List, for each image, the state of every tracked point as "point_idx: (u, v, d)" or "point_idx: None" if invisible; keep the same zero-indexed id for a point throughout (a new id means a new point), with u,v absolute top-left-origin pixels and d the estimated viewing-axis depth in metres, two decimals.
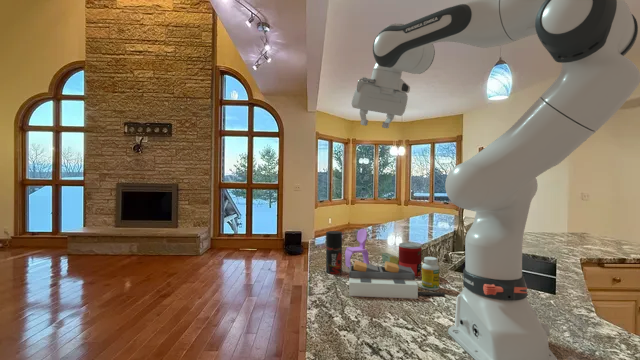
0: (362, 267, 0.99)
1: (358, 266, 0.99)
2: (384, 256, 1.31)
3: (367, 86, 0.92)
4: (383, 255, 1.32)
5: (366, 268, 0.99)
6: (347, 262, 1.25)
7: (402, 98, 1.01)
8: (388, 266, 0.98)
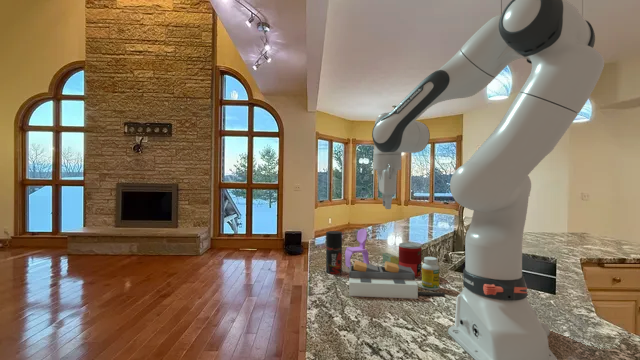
0: (362, 267, 0.99)
1: (358, 266, 0.99)
2: (385, 256, 1.31)
3: None
4: (383, 255, 1.32)
5: (366, 268, 0.99)
6: (347, 262, 1.25)
7: None
8: (388, 266, 0.98)
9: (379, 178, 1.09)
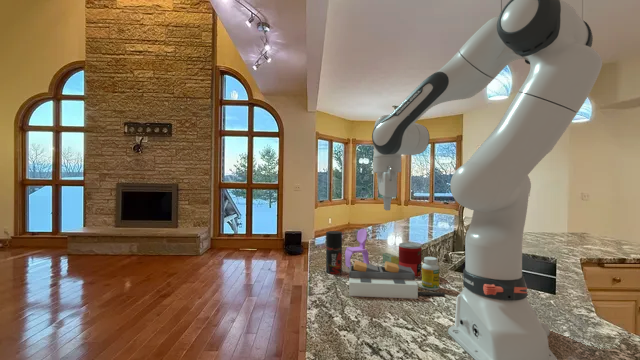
0: (362, 267, 0.99)
1: (358, 266, 0.99)
2: (385, 256, 1.31)
3: (396, 174, 0.92)
4: (384, 255, 1.32)
5: (366, 268, 0.99)
6: (347, 262, 1.25)
7: None
8: (388, 266, 0.98)
9: (379, 181, 1.09)
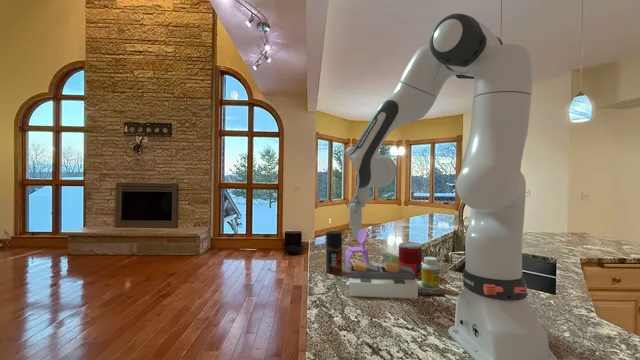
0: (362, 267, 0.99)
1: (358, 266, 0.99)
2: (385, 256, 1.31)
3: (361, 206, 0.94)
4: (384, 255, 1.32)
5: (366, 268, 0.99)
6: (347, 262, 1.25)
7: None
8: (388, 266, 0.98)
9: (349, 207, 1.10)
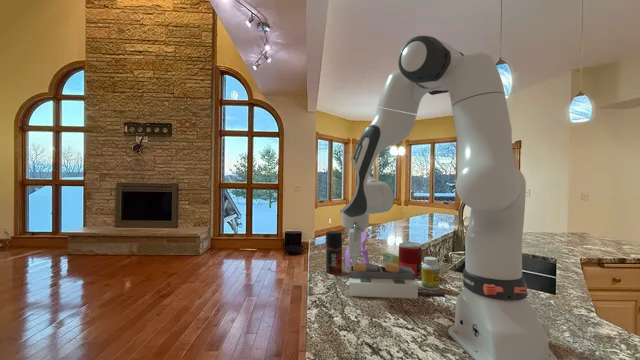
0: (361, 268, 0.99)
1: (357, 267, 0.99)
2: (386, 256, 1.31)
3: None
4: (384, 255, 1.32)
5: (365, 268, 0.99)
6: (347, 262, 1.25)
7: None
8: (388, 266, 0.98)
9: None
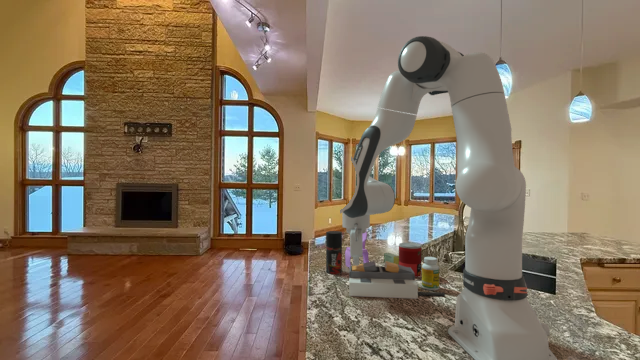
0: (360, 269, 0.99)
1: (356, 270, 0.99)
2: (387, 256, 1.31)
3: None
4: (385, 255, 1.32)
5: (363, 268, 0.99)
6: (347, 262, 1.25)
7: None
8: (388, 266, 0.98)
9: None
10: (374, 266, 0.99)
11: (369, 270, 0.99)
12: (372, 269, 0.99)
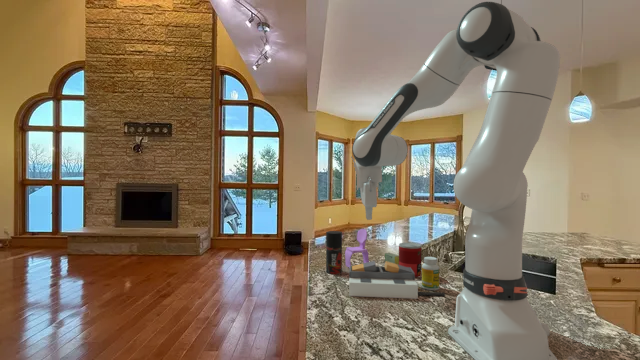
0: (360, 269, 0.99)
1: (356, 270, 0.99)
2: (388, 256, 1.31)
3: (375, 184, 0.95)
4: (386, 255, 1.32)
5: (363, 268, 0.99)
6: (347, 262, 1.25)
7: None
8: (388, 266, 0.98)
9: (361, 190, 1.11)
10: (374, 266, 0.99)
11: (369, 270, 0.99)
12: (372, 269, 0.99)
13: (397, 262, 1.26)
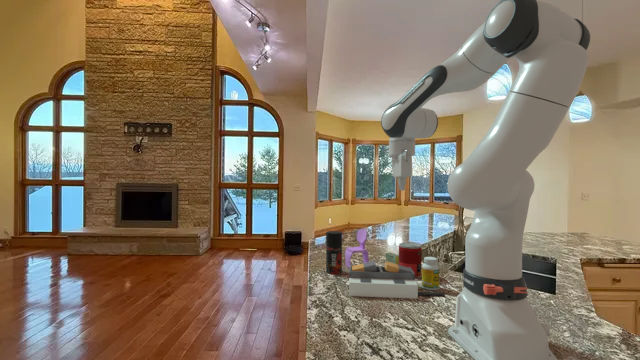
0: (360, 269, 0.99)
1: (356, 270, 0.99)
2: (389, 256, 1.31)
3: (411, 155, 1.01)
4: (387, 255, 1.32)
5: (363, 268, 0.99)
6: (347, 262, 1.25)
7: None
8: (388, 266, 0.98)
9: (393, 164, 1.17)
10: (374, 266, 0.99)
11: (369, 270, 0.99)
12: (372, 269, 0.99)
13: (398, 262, 1.26)
